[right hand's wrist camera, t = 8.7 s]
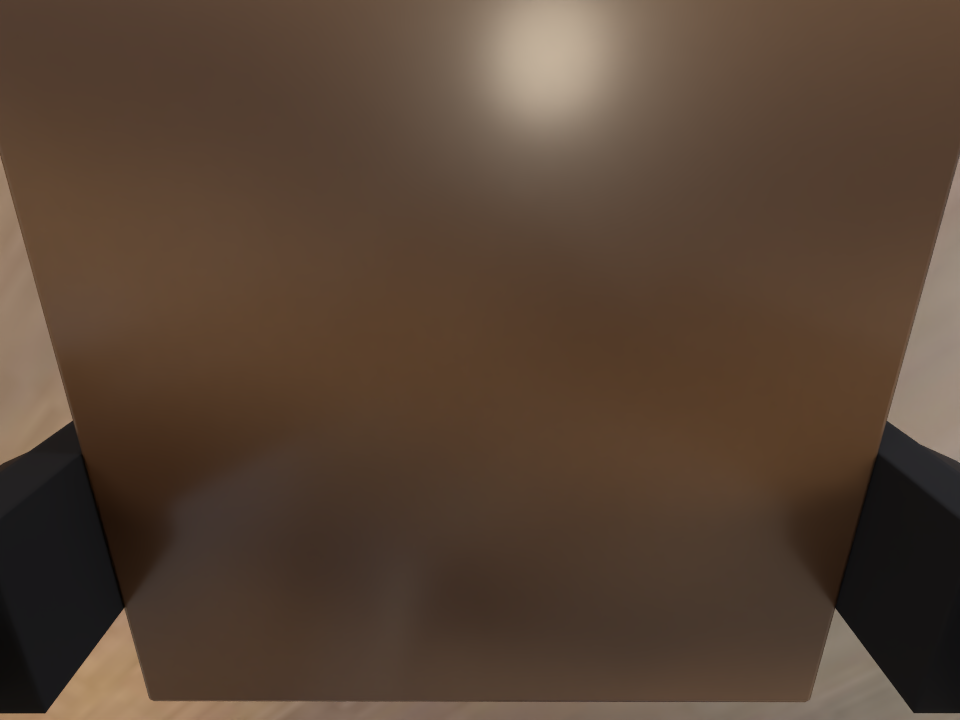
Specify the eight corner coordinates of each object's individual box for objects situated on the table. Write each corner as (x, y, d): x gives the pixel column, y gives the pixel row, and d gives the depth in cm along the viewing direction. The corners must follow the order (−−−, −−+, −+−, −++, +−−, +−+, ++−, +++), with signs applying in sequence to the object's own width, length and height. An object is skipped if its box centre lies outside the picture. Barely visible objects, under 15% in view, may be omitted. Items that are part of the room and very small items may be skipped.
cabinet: (186, -401, 11) (-501, -1644, 3) (773, -401, 11) (1463, -1650, 3) (295, 450, 18) (147, 703, 10) (665, 450, 18) (811, 704, 10)
